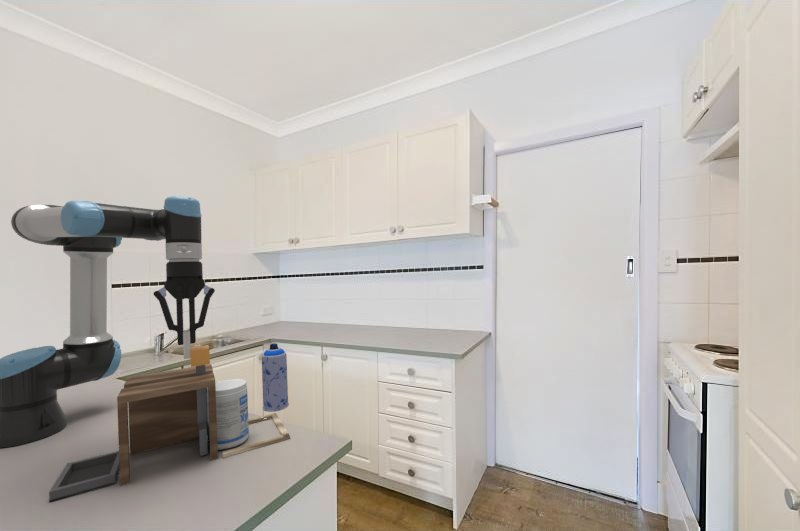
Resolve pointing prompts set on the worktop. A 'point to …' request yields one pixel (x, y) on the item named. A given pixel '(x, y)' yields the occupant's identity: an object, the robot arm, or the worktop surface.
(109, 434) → the worktop surface
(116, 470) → the tray
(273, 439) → the frame
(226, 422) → the supplement tub
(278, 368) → the aerosol can
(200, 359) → the slider
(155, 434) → the walnut tunnel
